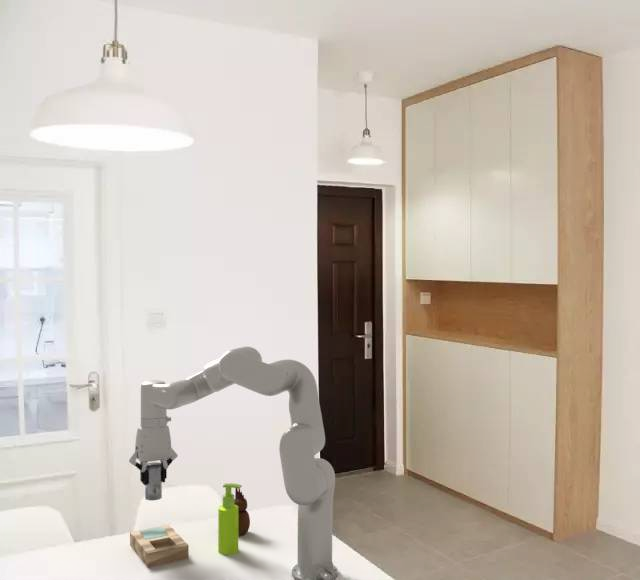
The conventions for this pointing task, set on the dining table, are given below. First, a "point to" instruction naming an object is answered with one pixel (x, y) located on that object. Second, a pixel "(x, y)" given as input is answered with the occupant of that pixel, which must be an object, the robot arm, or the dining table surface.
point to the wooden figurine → (242, 513)
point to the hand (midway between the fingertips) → (153, 481)
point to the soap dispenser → (228, 523)
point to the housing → (158, 545)
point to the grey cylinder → (153, 481)
